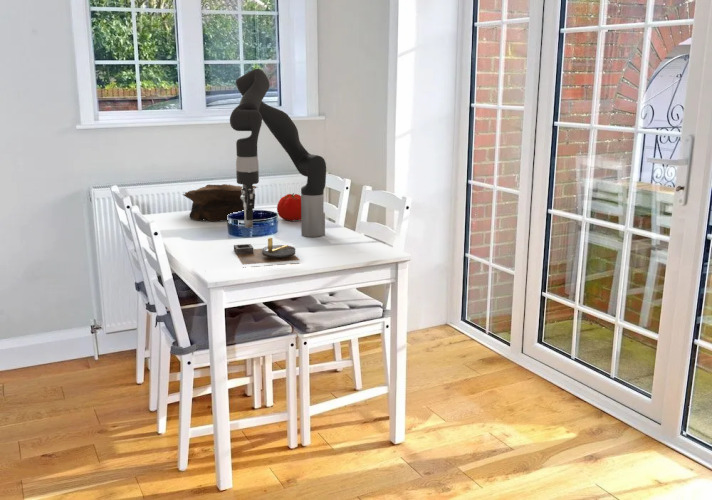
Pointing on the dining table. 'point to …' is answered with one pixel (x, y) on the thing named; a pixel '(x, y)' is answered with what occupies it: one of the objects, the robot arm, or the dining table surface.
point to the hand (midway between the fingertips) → (248, 218)
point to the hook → (247, 222)
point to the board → (257, 255)
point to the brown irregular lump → (215, 201)
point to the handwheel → (277, 250)
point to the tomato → (290, 207)
